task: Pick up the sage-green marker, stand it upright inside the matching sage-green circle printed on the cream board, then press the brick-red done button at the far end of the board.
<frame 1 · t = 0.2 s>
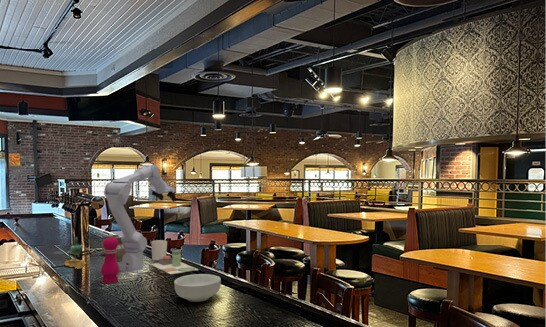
hand: (168, 199, 218), 31 cm above the worktop, fingers open, 7 cm apart
picture board: (173, 268, 195), on the worktop
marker: (176, 265, 197), point 1 cm above the worktop, touching picture board
frog figurine: (75, 265, 201), on the worktop
pottery: (116, 257, 219), on the worktop
done button: (166, 258, 202), point 3 cm above the worktop, slide at 0.0 cm
white cup: (159, 261, 212), on the worktop
pepper mill: (109, 281, 172), on the worktop
cereal bowl: (197, 299, 151), on the worktop
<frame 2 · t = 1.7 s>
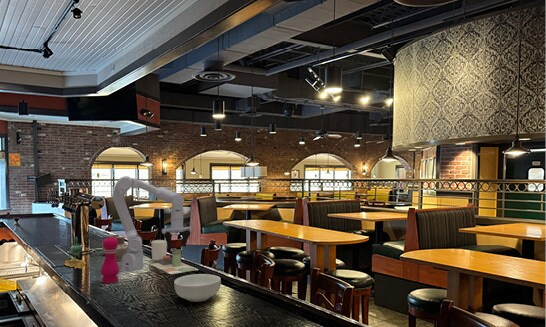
hand: (176, 247, 197), 10 cm above the worktop, fingers open, 7 cm apart
nothing on the worktop moved.
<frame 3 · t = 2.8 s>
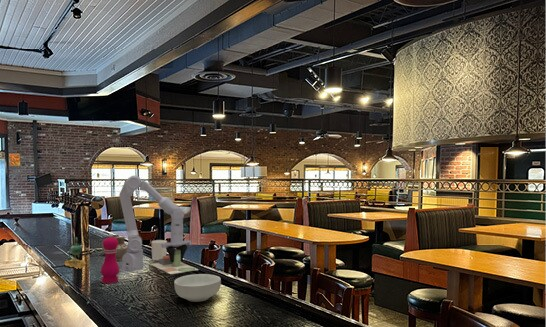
hand: (176, 261, 197), 3 cm above the worktop, fingers closed on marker, 4 cm apart
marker: (176, 265, 197), point 1 cm above the worktop, touching gripper, picture board
everything else where it was.
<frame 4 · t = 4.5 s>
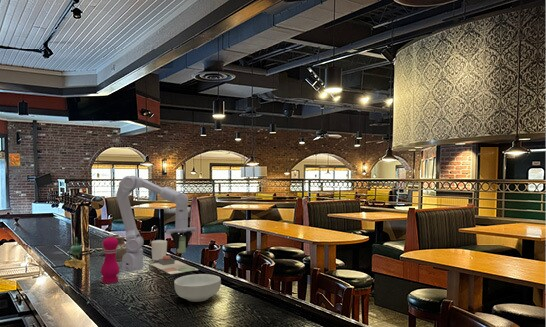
hand: (181, 248, 194), 10 cm above the worktop, fingers closed on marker, 4 cm apart
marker: (181, 252, 194), point 8 cm above the worktop, touching gripper
everything else where it was.
when the fingers open (4 cm above the worktop, at t = 6.4 s): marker stays where it is, resting on picture board.
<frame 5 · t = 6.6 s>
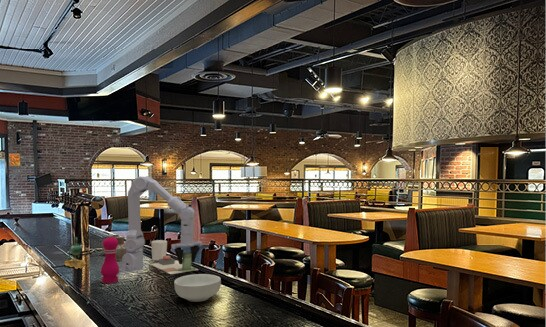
hand: (186, 263, 190), 4 cm above the worktop, fingers open, 6 cm apart
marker: (186, 269, 190), point 1 cm above the worktop, touching picture board
everything else where it was.
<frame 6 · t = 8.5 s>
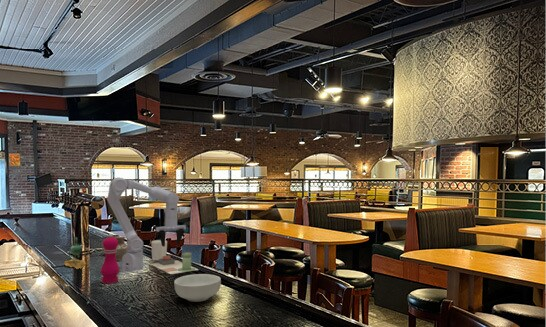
hand: (170, 245, 199), 10 cm above the worktop, fingers open, 7 cm apart
nothing on the worktop moved.
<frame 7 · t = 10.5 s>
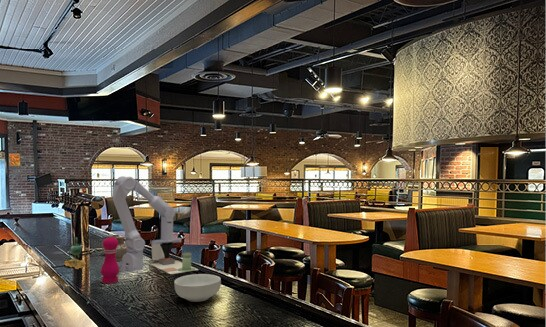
hand: (166, 258, 202), 4 cm above the worktop, fingers closed, pressing on done button
done button: (166, 260, 202), point 3 cm above the worktop, slide at 0.9 cm, touching gripper
everything else where it was.
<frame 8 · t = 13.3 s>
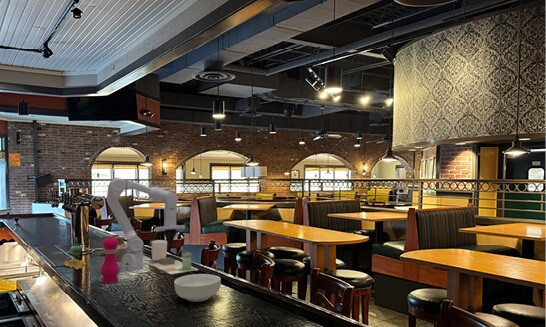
hand: (169, 245, 199), 10 cm above the worktop, fingers closed
done button: (166, 260, 202), point 2 cm above the worktop, slide at 1.0 cm
everything else where it was.
at the end: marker 0.0 cm from the target spot on the picture board, point 1.1 cm above the picture board's base; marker tilted 0°; done button slide at 1.0 cm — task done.
